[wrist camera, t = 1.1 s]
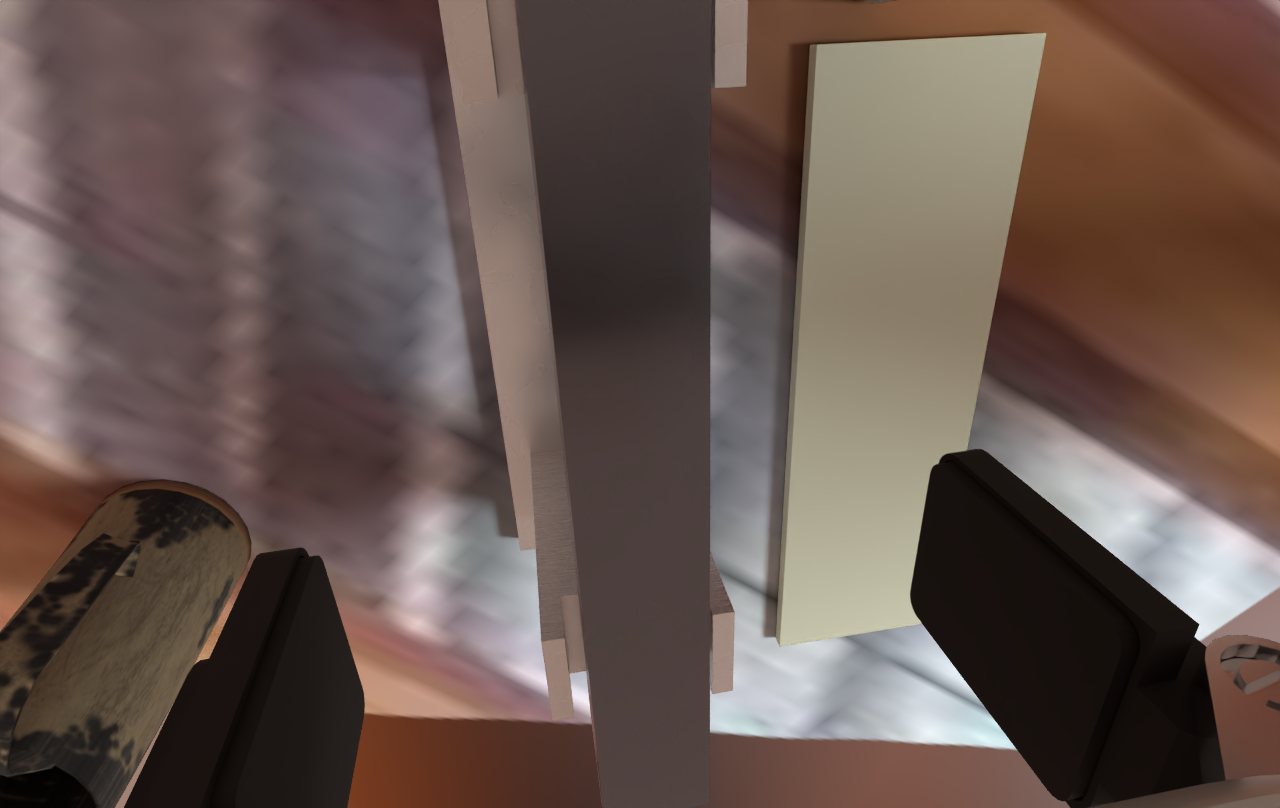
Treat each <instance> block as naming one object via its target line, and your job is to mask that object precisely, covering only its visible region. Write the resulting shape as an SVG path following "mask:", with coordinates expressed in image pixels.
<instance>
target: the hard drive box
mask: <svg viewBox="0 0 1280 808" xmlns="http://www.w3.org/2000/svg"><path fill="white" fill-rule="evenodd" d="M866 1H868V2H869V3H871V4H873V3H881V2H888V1H894V0H866Z"/></svg>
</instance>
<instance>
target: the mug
mask: <svg viewBox="0 0 1280 808" xmlns="http://www.w3.org/2000/svg"><path fill="white" fill-rule="evenodd" d="M250 554H251V539H250V536H249V532H248V528H247V526H246V525H245V523H244V522H243V520H242V518H241V517H240V515H239V514H238V513H237V512H236V511H235V510H234V509H233V508H232V507H231V506H230V505H229V504H228V503H227V502H226V501H224V500H223V499H221V498H219V497H218V496H216V495H214V494H213V493H211V492H209V491H207V490H205V489H202V488H199V487H197V486H194V485H191V484H188V483H184V482H176V481H169V480H152V481H141V482H137V483H134V484H131V485H127V486H124V487H121V488H120V489H118V490H116V491H115V492H113V493H111V494H110V495H108V496H107V497H106V498H105V499H104V500H103V501H102V502H101V504H100V505H99V506H98V507H97V508H96V509H95V511H94V512H93V513H92V514H91V516H90V517H89V518H88V520H87V521H86V522H85V524H84V525H83V526H82V528H81V529H80V531H79V532H78V533H77V535H76V536H75V537H74V539H73V540H72V541H71V543H70V544H69V545H68V547H67V548H66V549H65V551H64V552H63V553H62V555H61V556H60V557H59V559H58V560H57V561H56V563H55V564H54V565H53V566H52V568H51V569H50V570H49V571H48V573H47V574H46V575H45V576H44V578H43V579H42V580H41V581H40V583H39V584H38V585H37V586H36V588H35V589H34V590H33V591H32V593H31V594H30V595H29V597H28V598H27V599H26V600H25V602H24V603H23V604H22V605H21V607H20V608H19V609H18V610H17V612H16V613H15V614H14V615H13V617H12V618H11V619H10V620H9V622H8V623H7V624H6V625H5V627H4V628H3V629H2V630H1V632H0V808H115V806H116V804H117V803H118V801H119V799H120V798H121V796H122V794H123V792H124V791H125V789H126V787H127V785H128V784H129V782H130V780H131V778H132V777H133V775H134V773H135V771H136V769H137V768H138V766H139V764H140V762H141V760H142V759H143V757H144V755H145V753H146V751H147V750H148V748H149V746H150V744H151V742H152V740H153V739H154V737H155V735H156V733H157V731H158V730H159V728H160V726H161V724H162V722H163V721H164V719H165V717H166V715H167V713H168V712H169V710H170V708H171V706H172V704H173V703H174V701H175V699H176V697H177V695H178V693H179V691H180V689H181V687H182V685H183V683H184V681H185V679H186V676H187V675H188V673H189V672H190V670H191V668H192V667H193V665H194V664H195V662H196V660H197V658H198V656H199V654H200V652H201V651H202V649H203V647H204V645H205V643H206V641H207V639H208V638H209V636H210V634H211V632H212V630H213V628H214V626H215V624H216V623H217V621H218V619H219V617H220V615H221V613H222V611H223V609H224V607H225V605H226V603H227V601H228V599H229V597H230V595H231V593H232V591H233V590H234V588H235V586H236V584H237V582H238V580H239V578H240V576H241V575H242V573H243V571H244V569H245V567H246V565H247V563H248V561H249V559H250Z"/></svg>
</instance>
